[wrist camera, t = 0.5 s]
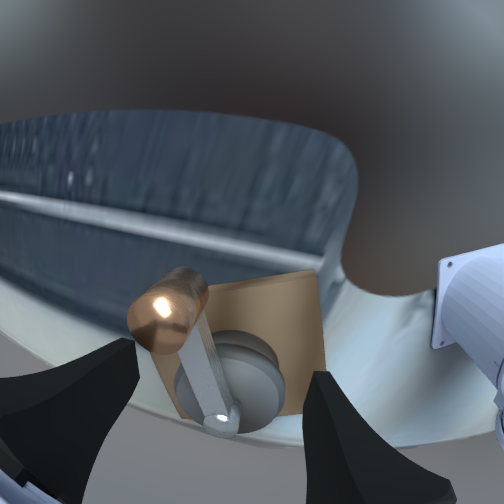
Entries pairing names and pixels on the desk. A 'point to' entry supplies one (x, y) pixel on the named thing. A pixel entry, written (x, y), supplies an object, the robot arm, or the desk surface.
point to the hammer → (187, 343)
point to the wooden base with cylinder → (257, 347)
